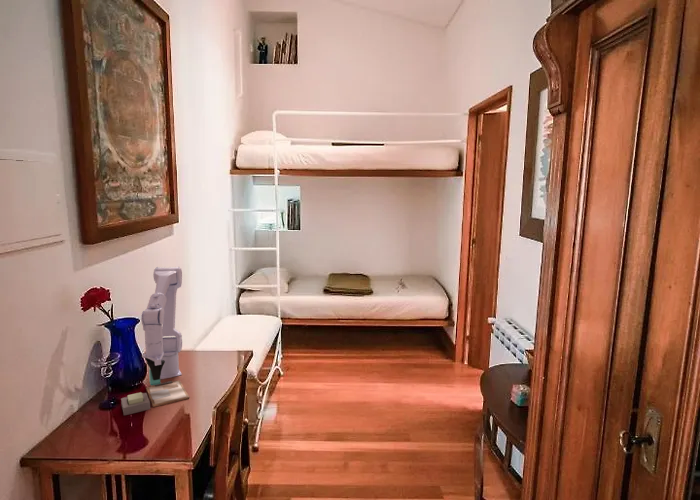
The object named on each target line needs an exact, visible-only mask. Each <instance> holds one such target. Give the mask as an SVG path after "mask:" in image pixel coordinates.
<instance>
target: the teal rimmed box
mask: <svg viewBox="0 0 700 500" xmlns="http://www.w3.org/2000/svg"><path fill="white" fill-rule="evenodd" d="M147 367H148V379H149V381H148V382H149V385H150V387H151V386H155V385H157V384H161V383H162V382H161V379H159V380H153V377H152V373H151V369H150V367H149V366H148V365H147Z"/></svg>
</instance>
